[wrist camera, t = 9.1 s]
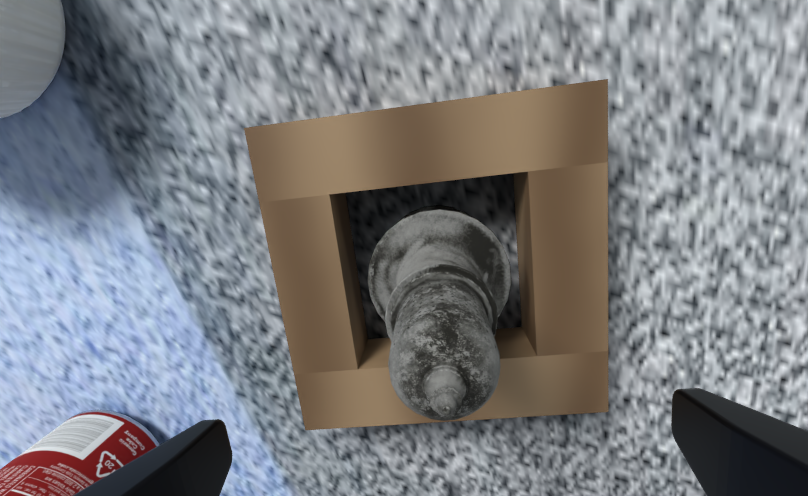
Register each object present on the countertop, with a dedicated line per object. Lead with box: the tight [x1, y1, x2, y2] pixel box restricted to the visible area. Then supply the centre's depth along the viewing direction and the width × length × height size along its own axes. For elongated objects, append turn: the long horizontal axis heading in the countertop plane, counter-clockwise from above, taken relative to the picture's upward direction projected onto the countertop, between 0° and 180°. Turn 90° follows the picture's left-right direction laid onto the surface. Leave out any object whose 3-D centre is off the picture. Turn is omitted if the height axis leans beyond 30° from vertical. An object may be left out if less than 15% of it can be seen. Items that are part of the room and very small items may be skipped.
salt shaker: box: [368, 205, 511, 421], centre depth 14 cm, size 6×6×12 cm
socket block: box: [244, 79, 608, 430], centre depth 18 cm, size 14×14×3 cm
